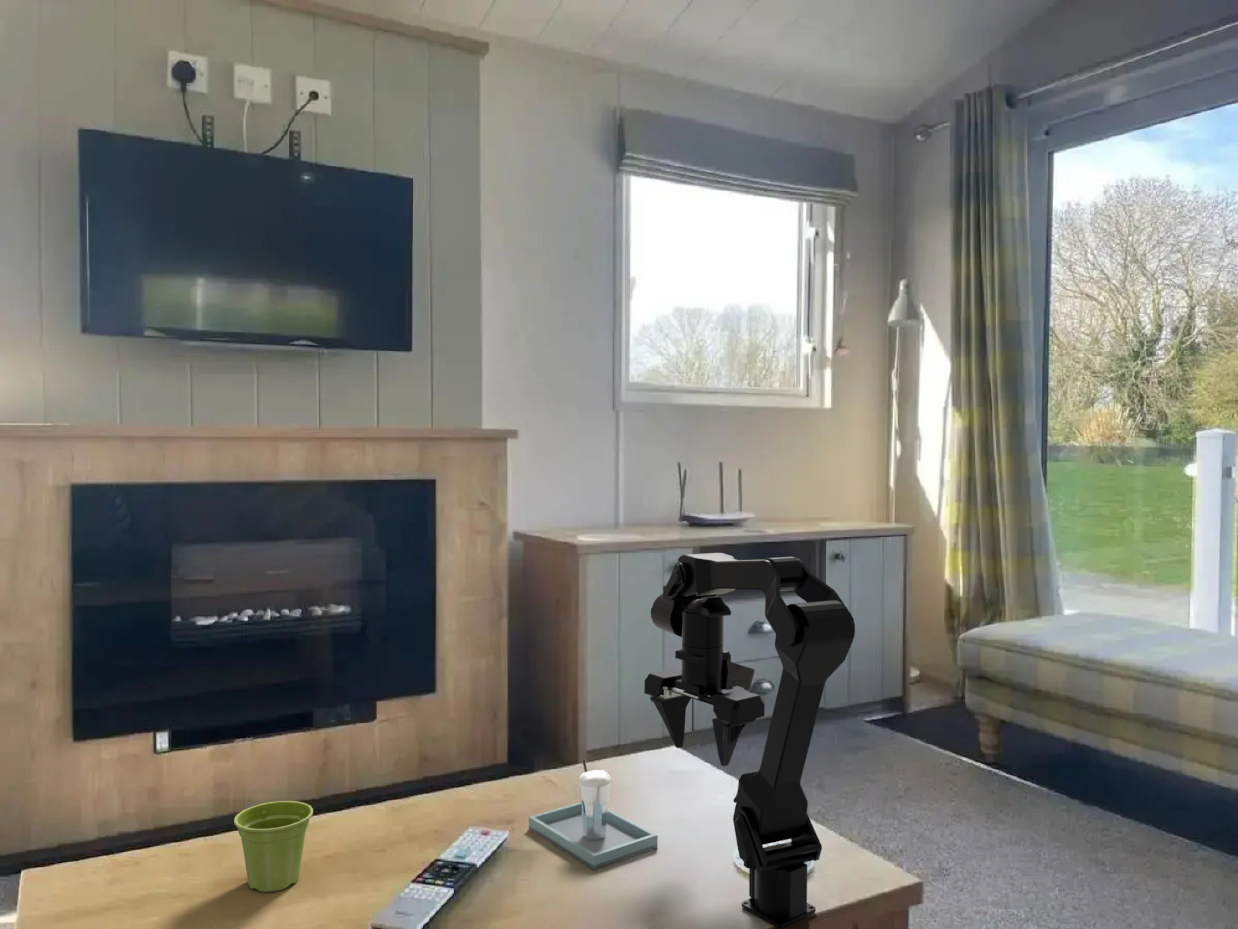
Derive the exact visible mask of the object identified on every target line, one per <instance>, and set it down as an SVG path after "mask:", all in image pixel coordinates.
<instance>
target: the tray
mask: <svg viewBox="0 0 1238 929" xmlns="http://www.w3.org/2000/svg"><path fill="white" fill-rule="evenodd" d="M528 830H529V831H531V832H532V833H534V834H536V835H537V836H539V837H541V839H544V840H546V841H547V842H549V843H550V844H551V845H553V846H555V847H557V848H558V849H560V850H561V851H563V852H565V853H566V854H568V855H569V856H571V857H573V858H574V859H576V860H577V861H579V862H581V863H583V864H584V865H585V866H587V867H588V868H590V869H591V870H597V869H600V868H602V867H603V868H604V867H606V866H609V865H611V864H613V863H617V862H620V861H623V860H625V859H626V860H627V859H628V858H631V857H635V856H637V855H640V854H643V853H646V852H649V851H653V850H655V849H658V837H659V836H658V834H657V833H654V832H653V831H651V830H649V829H648V828H646V827H643V826H641V825H640V824H637V823H636V822H634V821H631V820H630V819H628V818H626V817H624V816H623V815H621V814H619V813H616V812H615V811H612V810H611V809H609V808H608V810H607V824H606V835H605V837H604V838H602V839H601V840H589V839H586V838H585V837H583V826H582V811H581V801H580V802H577V803H573V804H570V805H567V806H563V807H559V808H556V809H555V808H554V809H552V810H548V811H545V812H541V813H538V814H534V815H531V816H528Z"/></svg>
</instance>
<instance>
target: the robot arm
mask: <svg viewBox="0 0 1238 929" xmlns="http://www.w3.org/2000/svg"><path fill="white" fill-rule="evenodd" d="M677 561H678V562H677V563H676V564H675V565H674V567H673V569H672V572H671V575H670V576H669V579H668V581H667V583H666V585H663V587H662V593H661V594H660V595H659V596H657V597H656V599H655V600H654V602H653V603H652V606H651V608H650V619H651V620H652V623H653V624H654V626H656V627H657V628H658V629H660V630H663V631H665V632H667V633H669V634H673V635H675V636H677V637H680V638H681V649H680V650H675V651H674V652H675V656H674V657H675V659H677V660H681V671H680V670H677V669H673V668H670V669H666V670H661V671H655V672H650V673H648V675H647V676H646V678H645V680H644V687H643V688H644V692H643V693H644V694H645V695H648V696H650V697H649V700H650V701H651V702H652V703H653V705H654V706H655V708H656V710H657V711H658V714H659V715H660V717H661V719H662V721H663V723H664V725H665V728H666V729H667V731H668V733H669V734H668V735H670V739H671V740H672V742H673V744H674V746H675V748H677V749H681V748H683V747H684V740H685V730H686V709H687V707H688V705H689V703H690V702H691V699H693V700H697V701H698V702H703V703H705V704H709V705H711V706H713V708H712V711H713V713H714V715H715V718H712V720H711V722H712V727H713V732H714V738H715V743H716V750H717V753H718V754H717V755H718V759H719V763H720V765H721V766H722V767H726V766H728V765H729V764H730V762H731V759H732V756H733V753H734V750H735V748H736V746H737V743H738V741H739V738H740V735H741V733H742V732H743V730H744V729H745V727H746V726H747V725H748V724H749V723H752V722H756V721H757V719H759V718H762V717H765V705H766V703H765V700H764V699H763V697H762V696H761V694H756V693H754V692H750V691H751V686H752V683H753V680H754V675H755V671H756V669H755V668H752V667H748V666H745V665H742V664H738V663H735V662H732V655H731V653H730V651H727V650H724V619H725V618H724V617H728V616H731V615H732V611H731V609H730V607H729V606H728V605H727V604H726V603H725V601H723V598H722V597H720V595H723V594H727V593H730V592H733V591H736V590H761V591H762V593H763V594H764V596H765V604H764V606H765V607H764V616H765V619H766V620H767V621H768V624H769V625H770V626H771V628H772V630H773V631H774V633H775V640H774V648H775V650H776V652H777V655H778V658H779V660H780V663H781V664H782V672H781V677H780V682H779V685H778V689H777V694H776V698H775V702H774V706H773V712H772V716H771V719H770V724H769V728H768V733H767V735H766V736H767V737H766V741H765V745H764V750H763V753H762V758H761V763H760V766H759V769H758V771H752V772H747V773H743V774H741V775H740V778H739V779H738V785H737V792H736V794H735V797H734V798H733V803H735V806H734V811H733V816H732V817H733V818H732V820H733V821H732V822H733V828H734V832H735V840H736V844H737V845H736V846H737V851H738V857H739V859H740V860H742V861H743V866H744V867H745V868H747V869H749V870H748V872H749V873H748V874H749V878H748V880H749V881H748V882H749V884H748V887H749V888H748V895H749V897H750V898H748V899H746V900H743V901H741V907H742V909H745V910H746V911H748V912H750V913H751V914H753V915H755V916H757V917H759V918H760V919H762V920H765V922H768V923H770V924H772V925H774V926H775V927H776V928H779V929H780V928H781V929H782V928H784V927H787V926H789V925H790V924H791V925H792V924H793V923H795V922H797V921H800V920H802V919H804V918H806V917H808V916H810V915H812V914H815V913H816V906H814V905H813V904H811V903H808V864H807V863H809V862H811V861H814V862H816V861H819V860H820V856H821V854H822V849H823V846H822V843H821V841H820V839H819V836H818V834H817V832H816V830H815V828H814V826H813V822H812V821H811V819H810V817H809V814H808V807H809V800H808V798H807V796H806V793H805V791H804V789H803V785H802V784H801V780H802V777H803V772H804V769H805V764H806V760H807V758H808V753H809V749H810V745H811V741H812V737H813V732H814V730H815V725H816V721H817V716H818V712H819V709H820V705H821V700H822V697H823V693H824V689H825V686H826V682H827V680H828V679H829V678H830V676H832V674H834V672H835V671H836V670H837V669H838V668H839V667H840V666H841V665H842V664H843V663H844V662H845V660H846V659H847V656H848V654H849V651H850V648H851V647H852V645H853V642H854V639H855V635H856V623H855V619H854V617H853V615H852V612H850V610H849V609H848V608H847V606H846V605H845V603H844V601H843V600H842V599H841V597H840V596H839V594H838V593H837V592H836V590H835V589H834V588H833V587H831V586H829V585H828V584H827V583H825V581H822V580H821V579H819V577H817V576H816V575H814V574H812V573H811V571H810V570H809V569H808V567H807V565H806V564H805V563H804V562H803V560H802V559H801V558H800V559H799V558H796V557H795V556H782V557H767V558H765V559H744V560H743V559H737V558H736V559H735V557H734V556H733V555H730V554H726V553H723V552H709V553H707V552H706V553H691V554H682V555H680V556H679V557H678V558H677ZM787 591H794V593H795V594H796V596H798V597H799V598H800V599H801V600H803V601H804V602H799V603H798V602H797V603H789V604H786V602H785V601H784V599H783V598H782V596H781V592H787ZM735 687H739V688H743V689H744V690H743V689H740V690H739V689H738V690H736V691H731V692H726V693H723V691H724V690H726V691H730V690H733V689H734V688H735ZM786 840H790V841H788V842H783V843H779V844H778V842H782V841H786ZM773 843H777V844H773ZM769 844H773V845H770V846H769ZM764 845H768V846H764Z"/></svg>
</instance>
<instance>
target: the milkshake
mask: <svg viewBox="0 0 1238 929" xmlns="http://www.w3.org/2000/svg"><path fill="white" fill-rule="evenodd" d="M581 762H582V765H583V772H582V773H581V775H580V776H579V777H578V785H579V786H578V787H579V796H580V802H581V811H582V826H583V837H585V838H586V839H589V840H601V839H602V838H604V837H605V835H606V824H607V810H608V809H609V808H608V807H609V799H610V790H611V783H612V782H611V781H612V777H611V776H610V775H609V773H608V772H607V771H605V770H604V769H601V770H597V769H594V770H589V771H588V767H587V762H586V759H582V760H581Z"/></svg>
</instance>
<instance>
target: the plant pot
mask: <svg viewBox="0 0 1238 929" xmlns="http://www.w3.org/2000/svg"><path fill="white" fill-rule="evenodd" d="M313 813H314V808H313V807H312V805H309V804H308V803H305V802H301V801H296V800H280V801H270V802H265V803H260V804H257V805H253V806H251V807H247V808H246V809H244V810H241V811H240V812H238V813H237V814H236V815H235V817H234V819H233V822H234V823H233V824H234V825H235V827H236V828H237V832H238V835H239V837H241V844H242V849H243V855H244V856H243V857H244V864H245V869H246V870H245V871H246V878H247V882H248V884H247V885H248V887H249V888H250V889H252V890H253V889H256V890H258V891H259V892H260V893H261V892H263V893H268V892H269V893H270V892H277V891H281V890H284V889H287V888H288V887H289V886H290V885H291V884H296V883H297V882H298V881H299V879H300V874H301V869H302V868H301V867H302V859H303V854H304V847H305V839H306V832H307V828H308V826H309V823H310V819H311V818H312V816H313V815H314V814H313Z"/></svg>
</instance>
